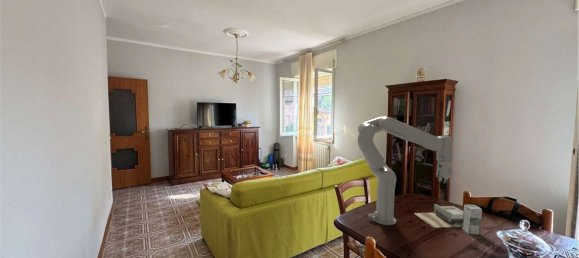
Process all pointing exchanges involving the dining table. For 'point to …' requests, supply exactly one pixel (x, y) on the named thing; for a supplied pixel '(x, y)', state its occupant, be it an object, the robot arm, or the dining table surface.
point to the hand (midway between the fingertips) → (443, 189)
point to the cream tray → (437, 220)
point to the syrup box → (472, 219)
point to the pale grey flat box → (449, 213)
